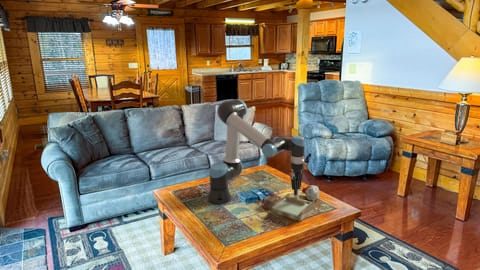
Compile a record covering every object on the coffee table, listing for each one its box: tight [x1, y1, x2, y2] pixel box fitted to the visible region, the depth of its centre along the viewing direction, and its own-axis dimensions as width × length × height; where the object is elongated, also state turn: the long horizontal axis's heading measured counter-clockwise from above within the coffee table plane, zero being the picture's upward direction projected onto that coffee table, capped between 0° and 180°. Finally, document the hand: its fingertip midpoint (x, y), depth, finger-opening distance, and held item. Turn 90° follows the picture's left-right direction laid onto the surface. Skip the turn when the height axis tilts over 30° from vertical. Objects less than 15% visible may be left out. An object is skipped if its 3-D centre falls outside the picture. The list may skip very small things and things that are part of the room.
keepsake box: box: [273, 193, 316, 223], centre depth 195 cm, size 18×17×6 cm
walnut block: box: [263, 195, 278, 211], centre depth 201 cm, size 6×6×6 cm
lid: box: [272, 195, 309, 216], centre depth 190 cm, size 16×16×3 cm
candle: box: [301, 184, 320, 202], centre depth 213 cm, size 9×11×15 cm
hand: (296, 199), depth 195 cm, fingers closed
